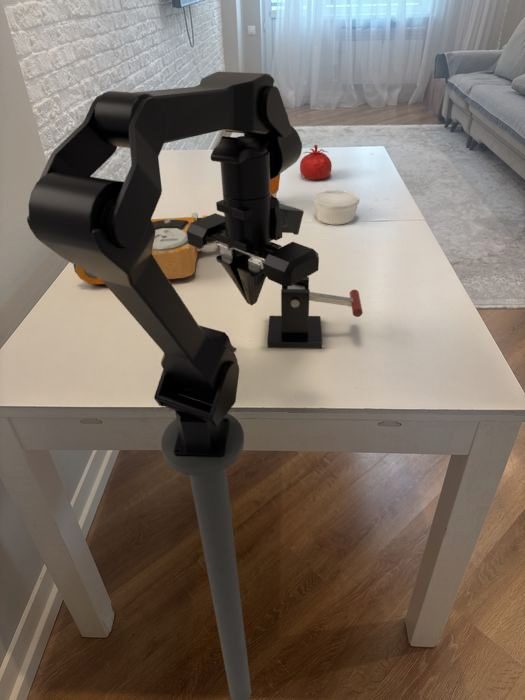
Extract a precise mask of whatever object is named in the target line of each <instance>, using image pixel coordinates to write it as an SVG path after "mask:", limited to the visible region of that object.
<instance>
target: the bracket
mask: <svg viewBox="0 0 525 700" xmlns="http://www.w3.org/2000/svg"><path fill="white" fill-rule="evenodd" d="M295 284H296V285H303V286H305V289H287V286H283V285H281V289H280V306H281V307H280V312H281V313H280V315H269V318H268V329H267V341H266V344H267V345H266V346H267V349H323V334H322V321H321V318H322V317H321V315H310V300H309V292H310V276H308V277H306V278H304V279H302V280H301V281H299V282H297V283H295Z"/></svg>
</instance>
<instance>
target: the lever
mask: <svg viewBox="0 0 525 700" xmlns="http://www.w3.org/2000/svg"><path fill="white" fill-rule="evenodd" d="M287 289H305V286H303V285H296V284H294V285H292V286H287ZM309 302H318V303H324V304H330V305H338V306H345V307H351V312H352V316H353V317H356V318H359V317H361V316H362V315H363V313H364V311H363V306H362V302H361V298H360V292H359V291H358V290H357V289H352V290H350V291H349V297H347V296H342V295H341V296H340V295H334V294H327V293H321V292H313V291H309Z"/></svg>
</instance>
